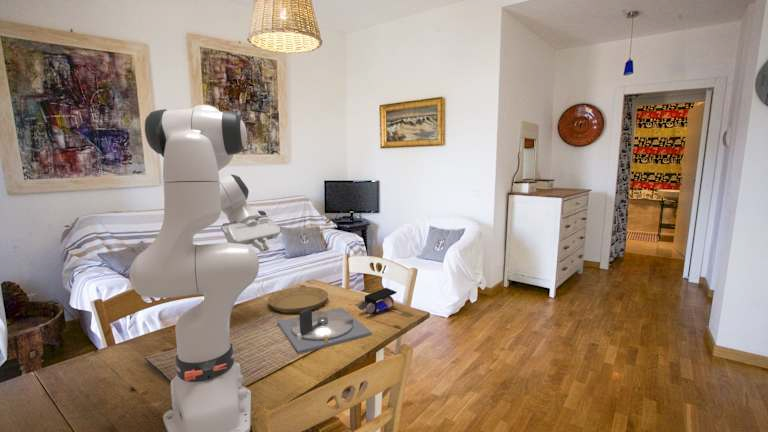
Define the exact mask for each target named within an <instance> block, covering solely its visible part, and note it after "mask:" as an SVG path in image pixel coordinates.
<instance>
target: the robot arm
mask: <svg viewBox="0 0 768 432" xmlns="http://www.w3.org/2000/svg"><path fill="white" fill-rule="evenodd" d="M144 135H145V138H146V142H147V144H148V145H149V148H151V150H153V151H154V152H155V153H156V154H159V155H161V157H163V162H162V163H163V164H162V177H163V178H162V179H163V180H162V181H163V197H164V199H163V201H164V211H163V220H162V223H161V224H162V225H161V228H160V230H159V232H158V234H157V236H156V237H155V239H154V240H153V241H152V243H151V244H150V245H149V246H148V247H146V249H144V250H143V251H141V252H140V253H139V254H138V255H137V256H136V257H135V259H134V260H133V261H132V263H131V266H130V269H129V281H130V285H131V287H132V288H133V290H134V291H135V292H136V293H137V294H138V295H139V296H141V297H142V298H144V297H145V298H153V299H154V298H159V299H168V298H170V299H171V298H177V297H185V296H194V295H203V296H204V297H203V298H204V299H203V300H202V301H201V302H200V303H198V304H197V305H195V306H193V307H191V308H190V309H188V310H187V311H185V312H184V313H183V314H182V315H180V317H179V318H178V319H177V320H176V323H175V328H174V329H175V342H176V353H177V354H176V356H175V368H176V375H175V376H174V378H173V379H172V380H171V381H170V392H171V406H170V409H169V410H168V411H166V412H165V413H164V414H163V416H162V421H163V424H164V427H165V428H166V431H167V432H250V431H251V422H252V421H251V419H252V417H251V416H252V414H251V413H252V393H251V390H250V389H248V388H247V387H246V386H243V385H242V381H243V382H244V374H241V364H240V363H238V362H236V361H235V358H234V357H235V356H234V355H235V353H234V352H235V351H234V348H233V343H231V316H232V315H231V314H232V311H233V307H234V305H235V303H236V301H237V300H238V298H239V296H240V295H241V294H242V293H243V292H244V291H245V290H246V289H247V288H248V287H250V286H251V285H252V283H254V281H255V280H256V278H257V276H258V275H259V270H260V261H259V256H258V254H257V252H256V250H254V249H253V248H252V247H254V248H256V249H258V251H259V252H260V253H264V252H267V251H269V250H270V246H269V245H268V241H269V240H270V241H271V240H273V239H277V237H279V235H280V233H281V230H280V227H279V226H278V225H277V222H275V220H274V219H273V218H271V217H269V216H270V214H269V212H268V211H265V210H259V209H256V208H252V206H251V205H249V204H248V202H247V200H248V198H249V188H248V186H247V185H246V184H245V183H244V181H243V180H242V178H241V177H240V176H238V175H235V174H227V175H225V176H223V177H221V178H220V174H219V171H220V170H222V169H224V168H225V167H226V166H228V165H229V164H230V163H231V161H232V160H233V157H234V155H237V154H240V153H241V152H242V151H243V150H244V149H245V147H246V142H247V139H248V131H247V127H246V125H245V122H244V121H243V118H242V116H240V115H239V114H238V113H236V112H233V111H229V110H223V111H220V110H219V109H218V108H217V107H215V106H213V105H210V104H198V105H195V106H192V107H191V108H179V109H178V108H175V109H169V110H168V109H165V108H163V109H157V110H154V111H150V113H149V114H148V115H147V116H146V118H145V120H144ZM222 212H223V213H224V214H225V215H226V217H227V220H228V222H225V223H224V222H223V223H222V225H221V226H220V230H221V232H223V234H224V237H225V239H226V241H227V242H222V243H221V242H220V243H209V244H194V242H193V239H194V236H195V235H196V234H197V233H199V232H201V231H203V230H205V229H207V228H209V227H210V226H212V225H214V224H215V223H216V222H217V221H218V220H219V219H220V217H221V213H222ZM250 245H252V246H250Z"/></svg>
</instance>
